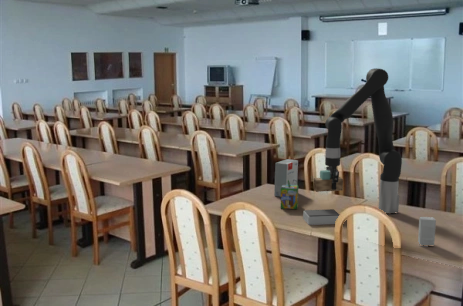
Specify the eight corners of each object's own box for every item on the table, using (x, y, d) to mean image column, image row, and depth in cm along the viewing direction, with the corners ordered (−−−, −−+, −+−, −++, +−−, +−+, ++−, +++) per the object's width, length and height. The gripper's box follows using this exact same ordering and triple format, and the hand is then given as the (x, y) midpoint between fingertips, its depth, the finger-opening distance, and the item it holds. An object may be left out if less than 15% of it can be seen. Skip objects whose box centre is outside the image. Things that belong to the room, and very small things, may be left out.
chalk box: (297, 209, 268) (298, 182, 266) (280, 208, 270) (280, 181, 268) (298, 205, 277) (299, 178, 275) (281, 204, 279) (282, 178, 276)
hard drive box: (285, 198, 291) (286, 164, 288) (273, 196, 295) (274, 162, 292) (297, 192, 304) (298, 160, 300) (286, 190, 308) (286, 158, 305)
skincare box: (431, 243, 219) (434, 217, 217) (434, 247, 215) (436, 220, 213) (417, 242, 220) (419, 216, 218) (419, 246, 216) (421, 219, 214)
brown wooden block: (339, 188, 265) (339, 176, 264) (342, 190, 260) (343, 179, 259) (313, 189, 263) (313, 178, 262) (316, 191, 258) (316, 180, 257)
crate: (327, 177, 262) (327, 170, 262) (329, 179, 258) (330, 171, 258) (320, 178, 262) (320, 170, 261) (322, 179, 258) (322, 172, 257)
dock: (333, 217, 255) (334, 208, 255) (340, 223, 246) (340, 214, 245) (303, 218, 254) (303, 209, 253) (308, 224, 244) (308, 215, 243)
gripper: (344, 158, 252) (343, 191, 255) (335, 153, 266) (334, 184, 269) (330, 159, 251) (329, 192, 254) (321, 153, 265) (321, 185, 268)
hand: (332, 188), depth 262 cm, fingers closed on brown wooden block, 5 cm apart
